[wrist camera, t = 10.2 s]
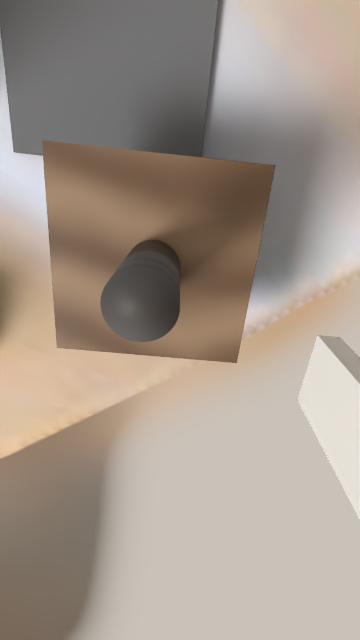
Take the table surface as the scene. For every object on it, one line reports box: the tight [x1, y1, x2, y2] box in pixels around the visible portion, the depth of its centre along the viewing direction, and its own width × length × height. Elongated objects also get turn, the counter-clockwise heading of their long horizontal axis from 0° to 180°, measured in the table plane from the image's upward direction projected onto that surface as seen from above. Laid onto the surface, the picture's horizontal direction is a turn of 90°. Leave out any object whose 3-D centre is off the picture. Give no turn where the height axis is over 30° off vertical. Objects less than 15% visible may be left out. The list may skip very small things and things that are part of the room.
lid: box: [42, 140, 275, 363], centre depth 20 cm, size 15×15×9 cm
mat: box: [0, 0, 218, 157], centre depth 24 cm, size 16×16×1 cm
